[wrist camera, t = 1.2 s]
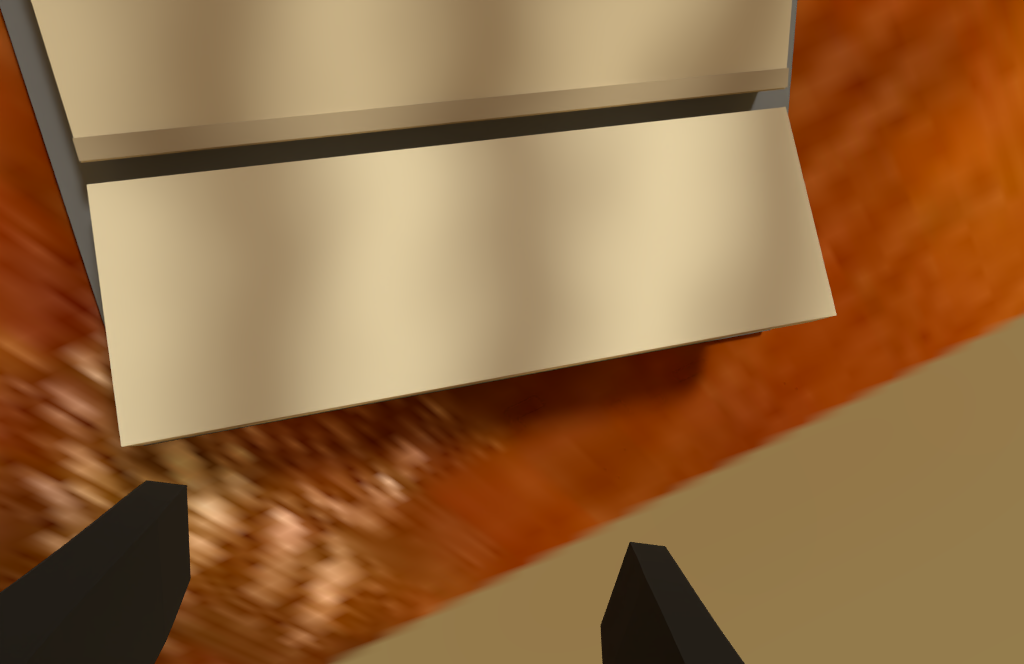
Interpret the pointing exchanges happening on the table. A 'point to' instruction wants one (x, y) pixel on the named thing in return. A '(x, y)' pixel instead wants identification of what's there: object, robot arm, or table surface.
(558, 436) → the table surface
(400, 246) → the board
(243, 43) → the fixed plank
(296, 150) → the underlay mat
